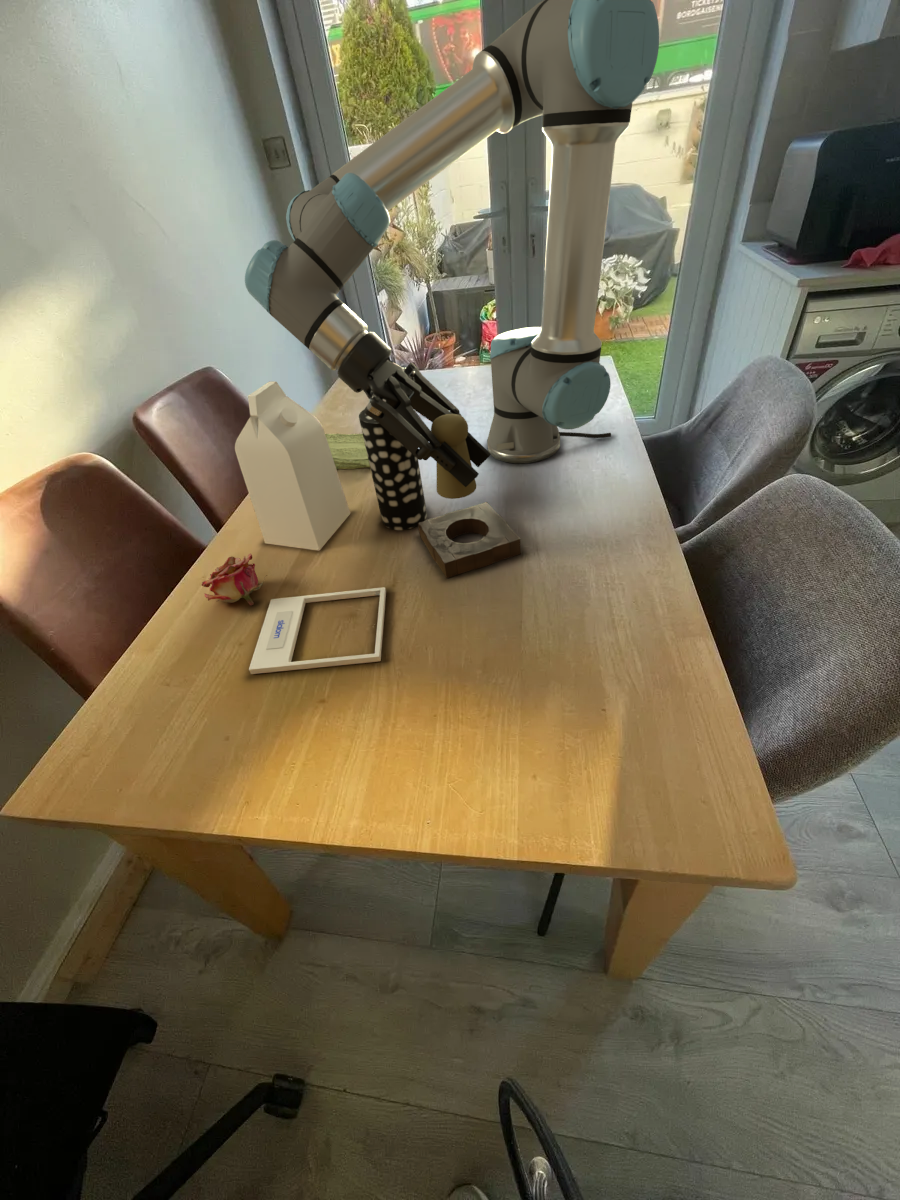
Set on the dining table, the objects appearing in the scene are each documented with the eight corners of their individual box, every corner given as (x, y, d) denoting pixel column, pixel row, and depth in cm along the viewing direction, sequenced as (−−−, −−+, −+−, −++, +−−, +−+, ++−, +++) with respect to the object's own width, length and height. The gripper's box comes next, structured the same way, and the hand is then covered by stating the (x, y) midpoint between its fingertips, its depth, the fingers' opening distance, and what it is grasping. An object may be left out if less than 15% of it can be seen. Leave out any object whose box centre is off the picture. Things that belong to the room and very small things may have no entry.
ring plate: (488, 515, 99) (487, 500, 97) (522, 554, 89) (521, 539, 87) (419, 536, 96) (416, 522, 94) (446, 579, 87) (443, 564, 85)
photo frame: (270, 598, 86) (384, 586, 85) (272, 603, 87) (386, 591, 86) (248, 668, 75) (378, 655, 74) (250, 674, 76) (380, 661, 75)
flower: (286, 582, 88) (255, 540, 86) (244, 610, 80) (210, 565, 79) (254, 602, 93) (226, 563, 92) (213, 630, 86) (181, 588, 85)
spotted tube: (420, 530, 98) (402, 423, 84) (376, 529, 99) (351, 423, 86) (431, 505, 104) (415, 401, 90) (389, 504, 105) (367, 402, 92)
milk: (299, 507, 108) (254, 373, 91) (350, 513, 105) (313, 374, 88) (265, 543, 100) (208, 403, 83) (319, 550, 96) (271, 405, 79)
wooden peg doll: (435, 481, 85) (425, 412, 78) (473, 475, 85) (467, 406, 78) (438, 501, 81) (427, 430, 73) (478, 495, 81) (472, 423, 73)
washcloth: (374, 471, 116) (371, 457, 114) (298, 470, 120) (294, 457, 118) (391, 442, 126) (389, 429, 124) (321, 443, 130) (317, 430, 128)
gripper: (368, 349, 83) (481, 456, 88) (306, 397, 70) (441, 518, 76) (394, 310, 78) (512, 426, 83) (332, 354, 65) (475, 488, 71)
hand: (478, 470), depth 79 cm, fingers closed on wooden peg doll, 5 cm apart
